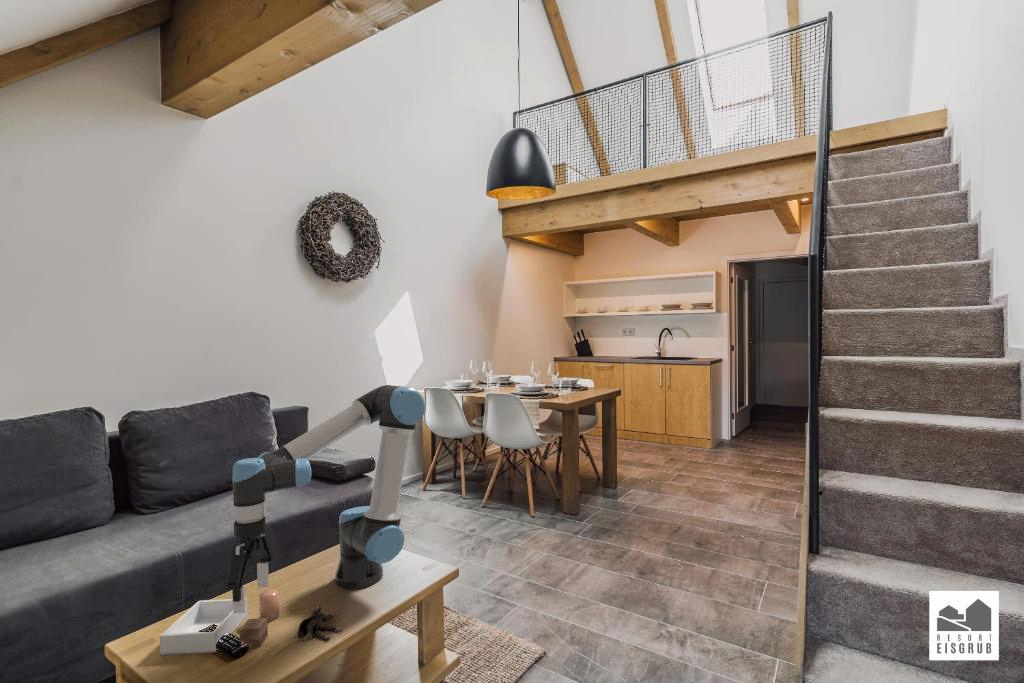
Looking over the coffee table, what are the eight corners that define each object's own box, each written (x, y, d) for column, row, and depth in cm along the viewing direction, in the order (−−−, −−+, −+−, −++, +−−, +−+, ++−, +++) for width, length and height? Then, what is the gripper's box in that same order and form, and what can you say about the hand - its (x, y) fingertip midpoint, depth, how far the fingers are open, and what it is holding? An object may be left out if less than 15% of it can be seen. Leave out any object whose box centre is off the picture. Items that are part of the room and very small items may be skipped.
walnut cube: (267, 636, 138) (267, 618, 138) (259, 647, 133) (258, 628, 133) (249, 637, 138) (248, 619, 138) (239, 648, 133) (239, 629, 133)
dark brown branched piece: (317, 644, 132) (293, 608, 138) (305, 668, 136) (282, 632, 141) (354, 622, 142) (330, 589, 147) (342, 645, 145) (319, 611, 151)
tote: (247, 615, 149) (246, 598, 149) (214, 652, 132) (214, 633, 132) (199, 617, 149) (198, 600, 149) (160, 655, 131) (159, 635, 131)
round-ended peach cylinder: (282, 612, 150) (281, 588, 150) (275, 621, 145) (274, 597, 145) (264, 613, 150) (264, 589, 150) (257, 622, 145) (256, 598, 145)
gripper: (256, 504, 148) (258, 577, 148) (209, 537, 123) (211, 625, 123) (283, 503, 148) (285, 576, 148) (241, 536, 123) (243, 624, 123)
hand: (251, 598), depth 136 cm, fingers open, 13 cm apart
